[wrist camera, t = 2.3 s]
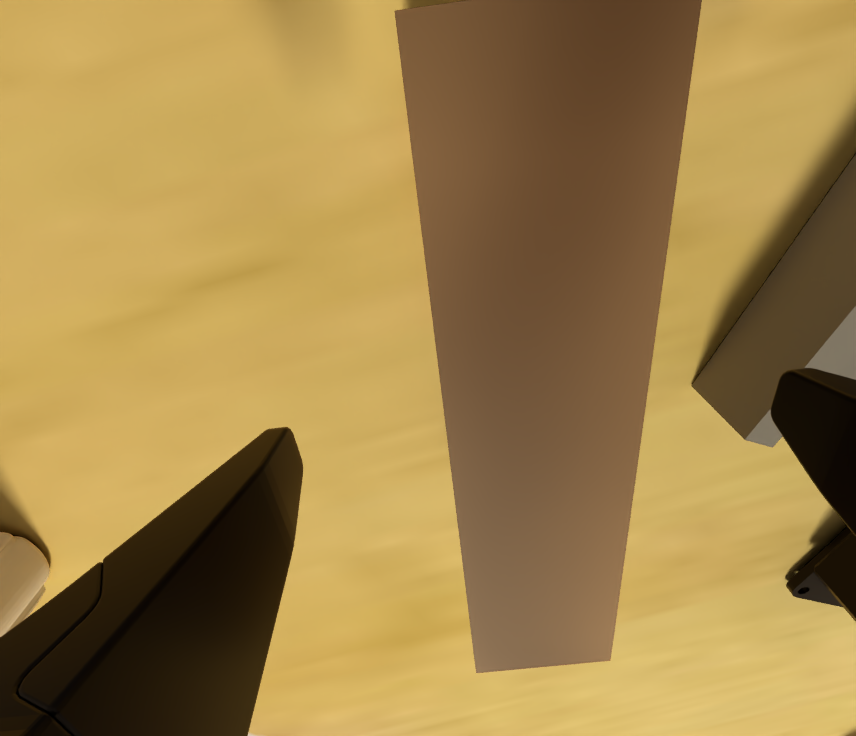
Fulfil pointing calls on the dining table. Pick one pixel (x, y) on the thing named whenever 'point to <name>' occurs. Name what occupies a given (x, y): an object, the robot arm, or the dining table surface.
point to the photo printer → (19, 579)
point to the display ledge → (792, 320)
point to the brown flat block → (545, 290)
